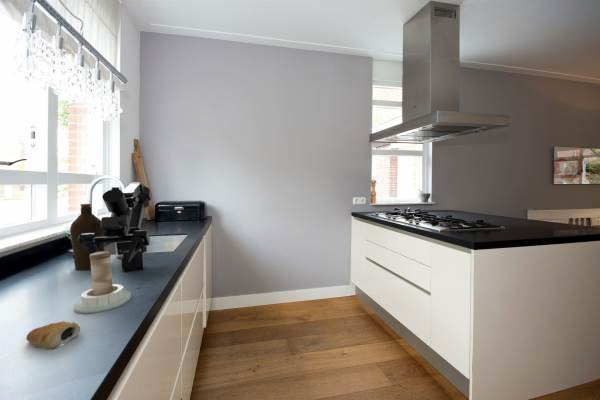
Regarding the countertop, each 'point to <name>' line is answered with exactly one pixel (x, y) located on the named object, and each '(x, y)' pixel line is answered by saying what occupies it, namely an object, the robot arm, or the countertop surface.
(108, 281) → the canister
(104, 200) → the robot arm
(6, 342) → the countertop surface
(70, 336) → the pastry
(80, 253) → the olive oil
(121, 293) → the holder
